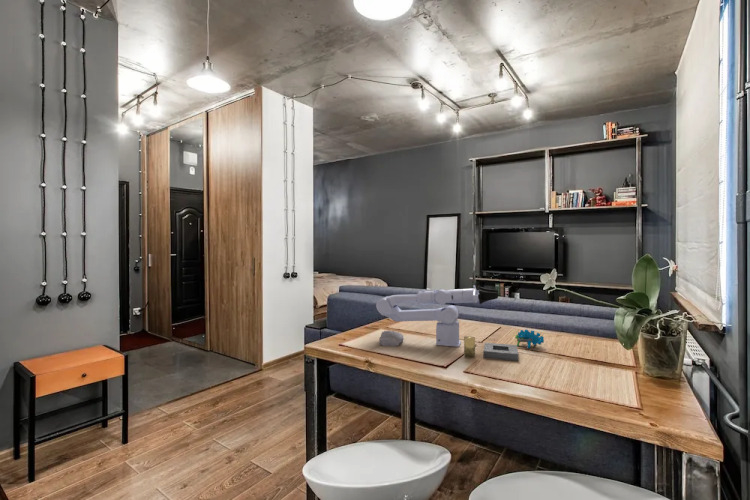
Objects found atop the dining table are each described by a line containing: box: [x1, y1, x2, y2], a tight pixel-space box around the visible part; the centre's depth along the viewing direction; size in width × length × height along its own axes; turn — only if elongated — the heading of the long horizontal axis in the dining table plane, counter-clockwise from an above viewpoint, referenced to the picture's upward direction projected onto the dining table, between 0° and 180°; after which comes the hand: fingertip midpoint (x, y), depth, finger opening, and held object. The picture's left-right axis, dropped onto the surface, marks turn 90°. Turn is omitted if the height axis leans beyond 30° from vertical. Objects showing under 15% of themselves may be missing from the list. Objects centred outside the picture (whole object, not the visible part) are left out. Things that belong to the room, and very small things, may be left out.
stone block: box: [378, 330, 404, 347], centre depth 155 cm, size 12×5×10 cm
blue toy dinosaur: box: [515, 329, 545, 350], centre depth 145 cm, size 11×6×10 cm
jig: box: [482, 342, 519, 362], centre depth 136 cm, size 12×12×2 cm
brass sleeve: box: [463, 335, 476, 359], centre depth 135 cm, size 4×4×7 cm
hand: (498, 294), depth 144 cm, fingers open, 7 cm apart
